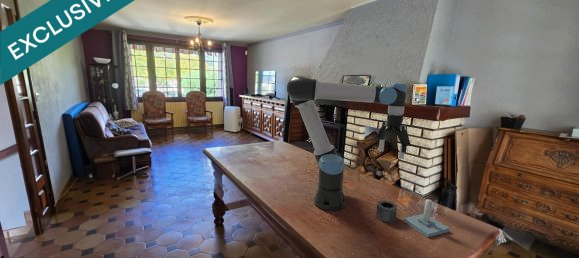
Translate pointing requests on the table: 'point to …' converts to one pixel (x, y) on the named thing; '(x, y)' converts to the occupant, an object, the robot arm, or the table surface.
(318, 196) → the robot arm
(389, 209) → the hub
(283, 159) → the table surface
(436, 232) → the shaft block
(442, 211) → the table surface
